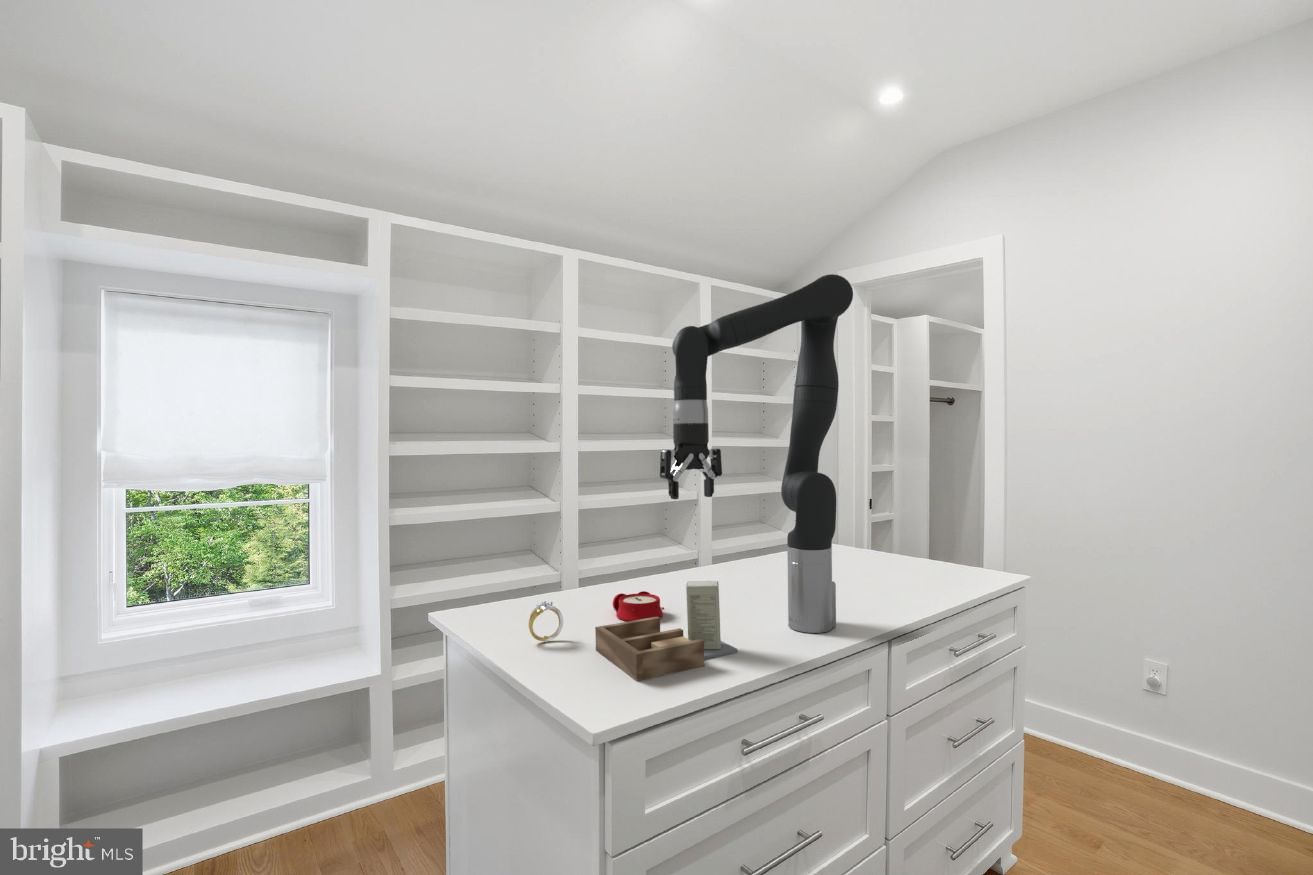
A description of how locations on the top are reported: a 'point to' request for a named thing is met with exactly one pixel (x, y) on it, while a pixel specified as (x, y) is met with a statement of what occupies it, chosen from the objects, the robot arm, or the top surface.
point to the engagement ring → (538, 611)
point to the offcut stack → (668, 642)
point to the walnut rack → (647, 649)
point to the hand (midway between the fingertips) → (691, 497)
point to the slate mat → (719, 651)
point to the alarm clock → (637, 606)
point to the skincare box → (704, 612)
